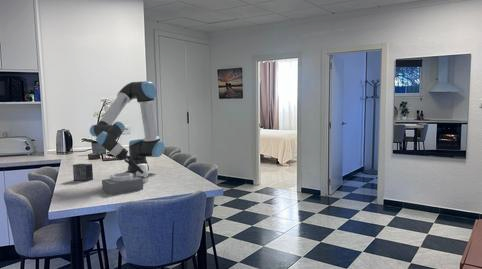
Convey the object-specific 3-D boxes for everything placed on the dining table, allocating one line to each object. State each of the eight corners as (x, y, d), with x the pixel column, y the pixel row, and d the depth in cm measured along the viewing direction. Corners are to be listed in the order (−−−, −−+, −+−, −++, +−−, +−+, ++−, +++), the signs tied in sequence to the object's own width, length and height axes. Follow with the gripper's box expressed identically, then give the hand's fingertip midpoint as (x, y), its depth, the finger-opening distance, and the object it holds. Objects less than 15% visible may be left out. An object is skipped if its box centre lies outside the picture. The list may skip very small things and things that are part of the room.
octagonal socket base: (132, 185, 207) (132, 171, 207) (143, 189, 197) (142, 174, 196) (102, 190, 196) (101, 175, 195) (111, 194, 185) (110, 179, 184)
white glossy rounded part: (145, 180, 221) (144, 163, 220) (150, 181, 215) (149, 164, 214) (134, 181, 216) (133, 164, 215) (139, 183, 211) (138, 165, 210)
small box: (93, 179, 227) (92, 163, 226) (86, 181, 220) (85, 165, 220) (80, 178, 230) (79, 163, 229) (73, 180, 223) (72, 164, 222)
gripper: (114, 154, 220) (140, 175, 227) (115, 159, 197) (143, 182, 204) (122, 145, 222) (147, 166, 228) (124, 149, 199) (152, 173, 205)
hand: (145, 174), depth 216 cm, fingers open, 13 cm apart
